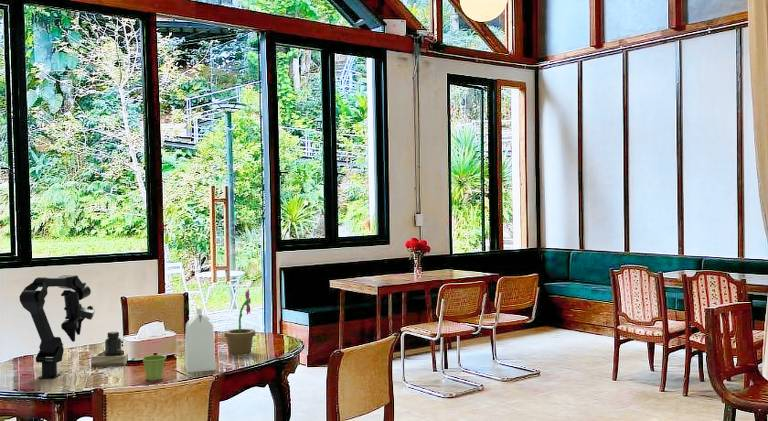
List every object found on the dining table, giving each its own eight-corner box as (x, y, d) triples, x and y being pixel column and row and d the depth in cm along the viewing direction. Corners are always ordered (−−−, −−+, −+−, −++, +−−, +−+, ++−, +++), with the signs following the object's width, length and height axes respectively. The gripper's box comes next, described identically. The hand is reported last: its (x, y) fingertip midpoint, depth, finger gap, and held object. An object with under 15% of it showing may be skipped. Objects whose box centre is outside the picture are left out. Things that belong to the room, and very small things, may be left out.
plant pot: (169, 375, 297) (169, 354, 297) (163, 381, 287) (162, 359, 287) (146, 376, 297) (145, 355, 296) (139, 382, 287) (138, 360, 287)
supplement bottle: (122, 359, 323) (122, 333, 323) (105, 361, 320) (105, 334, 319) (120, 357, 329) (120, 330, 329) (104, 358, 326) (104, 331, 326)
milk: (184, 366, 314) (183, 306, 314) (211, 364, 318) (210, 304, 318) (187, 372, 303) (186, 310, 302) (215, 369, 307) (214, 308, 306)
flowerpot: (258, 354, 337) (257, 290, 336) (227, 357, 331) (226, 291, 331) (252, 348, 350) (251, 286, 350) (222, 351, 345) (221, 288, 344)
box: (123, 365, 318) (123, 356, 318) (91, 365, 317) (91, 356, 317) (134, 358, 332) (133, 349, 332) (103, 359, 331) (103, 350, 331)
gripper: (86, 308, 306) (90, 343, 309) (96, 296, 324) (100, 329, 327) (58, 310, 304) (63, 345, 307) (70, 298, 322) (73, 331, 325)
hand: (76, 338), depth 316 cm, fingers open, 9 cm apart
